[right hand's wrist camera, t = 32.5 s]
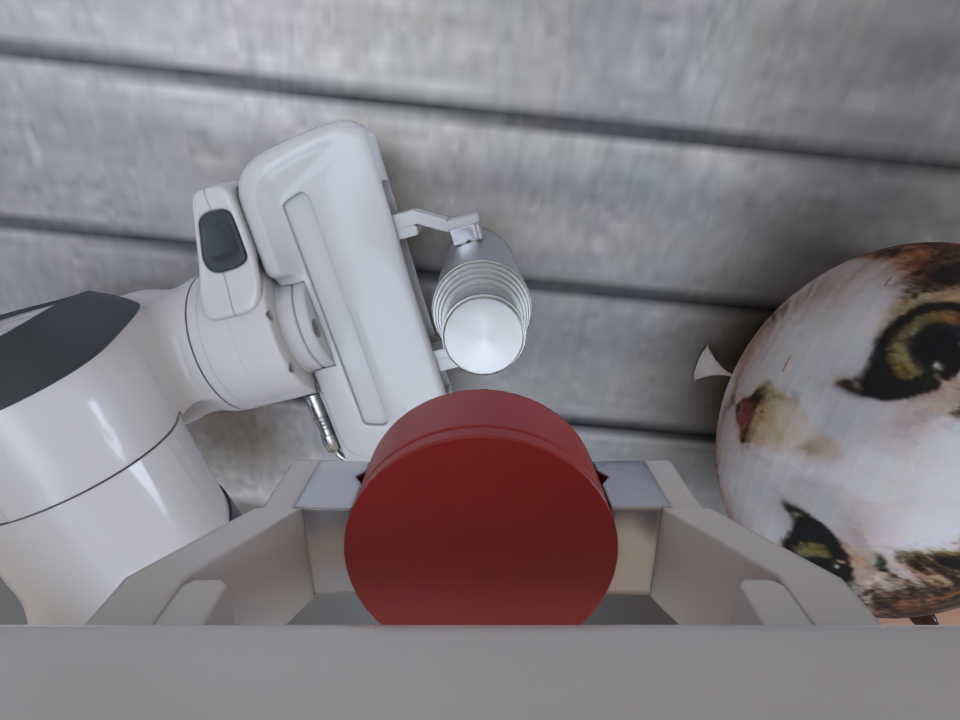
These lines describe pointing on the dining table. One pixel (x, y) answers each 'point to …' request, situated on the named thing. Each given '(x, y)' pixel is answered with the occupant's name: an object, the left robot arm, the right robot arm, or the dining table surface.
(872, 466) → the plush toy
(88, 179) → the dining table surface
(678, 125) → the dining table surface
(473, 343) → the bottle
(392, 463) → the cap
